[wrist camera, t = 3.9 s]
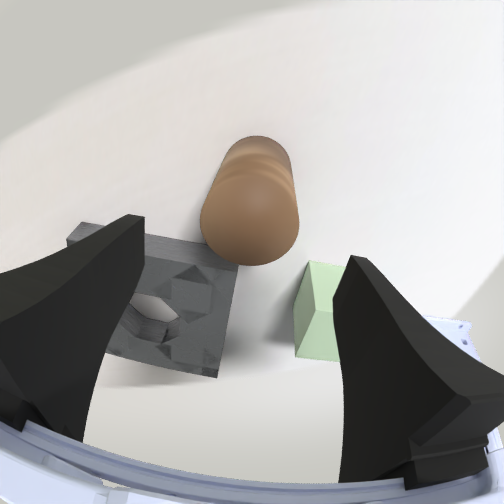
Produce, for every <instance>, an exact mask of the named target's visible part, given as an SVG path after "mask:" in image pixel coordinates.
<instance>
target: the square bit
mask: <svg viewBox="0 0 504 504" xmlns="http://www.w3.org/2000/svg"><path fill="white" fill-rule="evenodd" d="M345 268H346V267H343V266H337V265H332V264H326V263H321V262H316V261H310V260H309V262H308V265H307V268H306V271H305V274H304V277H303V280H302V282H301V285H300V288H299V291H298V294H297V297H296V299H295V302H294V305H293V320H294V342H295V357H298V358H306V359H315V360H324V361H334V362H340V359H339V353H338V347H337V342H336V336H335V330H334V324H333V303H332V298H333V296H334V294H335V291H336V289H337V287H338V284H339V282H340V280H341V277H342V275H343V273H344V270H345Z"/></svg>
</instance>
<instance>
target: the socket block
mask: <svg viewBox="0 0 504 504" xmlns="http://www.w3.org/2000/svg"><path fill="white" fill-rule="evenodd" d="M103 227H105V226H102V225H96V224H91V223H86V222H81V223H80V224H79V225H78V226H77V228H76V229H75V230H74V231H73V232H72V233H71V234H70V235H69V236H68V237H67V239H66V241H67V247H68V246H70V245H72V244H74V243H76V242H78V241H80V240H81V239H83V238H85V237H87V236H89V235H91V234H92V233H94V232H96V231H98V230H100V229H101V228H103ZM237 271H238V264H235V263H232V262H230V261H227V260H225V259H224V258H222V257H220V256H219V255H218V254H216V253H215V252H214V251H213V250H212V249H211V248H210V247H209V245H205V244H199V243H194V242H188V241H183V240H177V239H172V238H167V237H161V236H156V235H150V234H145V266H144V269H143V271H142V274H141V277H140V280H139V282H138V285H137V287H136V289H135V291H134V292H137V293H142V294H146V295H151V296H156V297H160V298H161V299H162V300H163V301H164V302H165V303H166V304H167V305H169V306H170V307H171V308H172V309H173V310H174V311H175V312H176V313H177V314H178V315H179V316H180V317H179V318H177V319H175V320H173V321H171V322H169V323H166V322H162V321H157V320H153V319H148V318H144V317H143V316H142V315H141V314H140V313H139V312H138V311H137V310H136V309H135V308H133V307H132V306H131V305H130V304H129V303H128V305H127V307H126V309H125V311H124V313H123V315H122V317H121V318H120V320H119V322H118V324H117V326H116V328H115V330H114V332H113V334H112V336H111V339H110V341H109V343H108V346H107V349H106V351H105V353H108V354H112V355H116V356H119V357H123V358H127V359H131V360H135V361H138V362H143V363H147V364H151V365H155V366H159V367H164V368H168V369H173V370H177V371H182V372H187V373H192V374H197V375H202V376H208V377H213V378H217V376H218V370H219V365H220V360H221V355H222V349H223V344H224V339H225V333H226V328H227V323H228V318H229V312H230V307H231V303H232V297H233V292H234V287H235V281H236V276H237Z"/></svg>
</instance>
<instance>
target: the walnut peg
mask: <svg viewBox="0 0 504 504" xmlns="http://www.w3.org/2000/svg"><path fill="white" fill-rule="evenodd" d="M200 227H201V231H202V234H203V237H204V239H205V241H206V242H207V244H208V245H209V247H210V248H211V249H212V250H213V251H214V252H215V253H216V254H218V255H219V256H220V257H222V258H224V259H225V260H227V261H230V262H232V263H235V264H239V265H246V266H257V265H263V264H267V263H270V262H273V261H275V260H277V259H279V258H280V257H282V256H283V255H284V254H286V253H287V252H288V251H289V250H290V248H291V247H292V246H293V244H294V242H295V240H296V238H297V235H298V231H299V215H298V208H297V202H296V195H295V188H294V182H293V175H292V169H291V163H290V159H289V156H288V154H287V152H286V151H285V149H284V148H283V147H282V146H281V145H280V144H279V143H277V142H276V141H274V140H272V139H270V138H267V137H264V136H250V137H246V138H243V139H241V140H239V141H237V142H236V143H235V144H234V145H233V146H232V147H231V148H230V149H229V150H228V152H227V154H226V156H225V158H224V160H223V162H222V165H221V167H220V169H219V171H218V173H217V175H216V178H215V180H214V182H213V184H212V187H211V189H210V191H209V193H208V196H207V198H206V200H205V202H204V205H203V207H202V210H201V215H200Z"/></svg>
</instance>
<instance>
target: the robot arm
mask: <svg viewBox="0 0 504 504" xmlns="http://www.w3.org/2000/svg"><path fill="white" fill-rule="evenodd" d="M144 266H145V217H143V216H137V215H131V214H128V215H125V216H123V217H121V218H119V219H117V220H116V221H114V222H112V223H110V224H108V225H107V226H105V227H103V228H101V229H100V230H98V231H96V232H94V233H92V234H91V235H89V236H87V237H85V238H83V239H81V240H80V241H78V242H76V243H74V244H72V245H70V246H68V247H66V248H64V249H62V250H60V251H58V252H56V253H54V254H52V255H50V256H47V257H45V258H43V259H40V260H38V261H35V262H33V263H30V264H27V265H24V266H22V267H19V268H16V269H13V270H10V271H7V272H4V273H0V498H1V499H3V500H4V501H6V502H8V503H9V504H504V448H503V445H502V442H501V439H500V435H499V432H498V429H497V426H499V425H500V424H501V423H502V422H504V375H502V374H500V373H498V372H497V371H495V370H493V369H491V368H489V367H487V366H486V365H484V364H483V363H482V362H481V360H480V358H479V356H478V354H477V352H476V349H475V347H474V345H473V343H472V341H471V339H470V336H469V334H468V331H469V330H470V328H471V326H472V325H471V323H470V322H468V321H460V320H452V319H443V318H435V317H427V316H421V315H420V314H419V313H418V312H417V311H416V310H415V309H414V308H413V306H412V305H411V304H410V303H409V302H408V301H407V300H406V299H405V298H404V297H403V296H402V295H401V294H400V293H399V292H398V291H397V289H396V288H395V287H394V286H393V285H392V284H391V283H390V282H389V281H388V280H387V278H386V277H385V276H384V275H383V274H382V273H381V272H380V271H379V270H378V269H377V268H376V267H375V266H374V265H373V263H371V262H370V261H369V260H368V259H367V258H364V257H359V256H354V255H351V256H350V258H349V261H348V263H347V266H346V268H345V270H344V273H343V275H342V277H341V280H340V282H339V284H338V287H337V289H336V291H335V294H334V296H333V298H332V303H333V324H334V330H335V336H336V342H337V347H338V353H339V359H340V365H341V370H342V379H343V394H344V428H343V429H344V430H343V446H342V458H341V467H340V474H339V481H338V483H333V484H332V483H331V484H330V483H329V484H298V483H273V482H259V481H248V480H239V479H230V478H223V477H216V476H209V475H203V474H197V473H191V472H186V471H181V470H175V469H171V468H167V467H162V466H157V465H154V464H149V463H146V462H142V461H138V460H134V459H131V458H127V457H124V456H120V455H117V454H114V453H111V452H107V451H104V450H101V449H98V448H95V447H93V446H89V445H87V444H84V443H83V437H84V431H85V426H86V420H87V415H88V410H89V406H90V402H91V398H92V394H93V390H94V387H95V383H96V380H97V376H98V373H99V369H100V366H101V363H102V360H103V357H104V354H105V351H106V349H107V346H108V343H109V341H110V339H111V336H112V334H113V332H114V330H115V328H116V326H117V324H118V322H119V320H120V318H121V317H122V315H123V313H124V311H125V309H126V307H127V305H128V303H129V301H130V299H131V297H132V295H133V293H134V291H135V289H136V287H137V285H138V282H139V280H140V277H141V274H142V271H143V269H144ZM95 476H96V477H95ZM97 477H99V478H102V479H105V480H108V481H111V482H114V483H117V484H121V485H124V486H127V487H131V488H125V487H116V488H112V487H108V486H104V485H103V482H102V481H101V479H99V478H97Z"/></svg>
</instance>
